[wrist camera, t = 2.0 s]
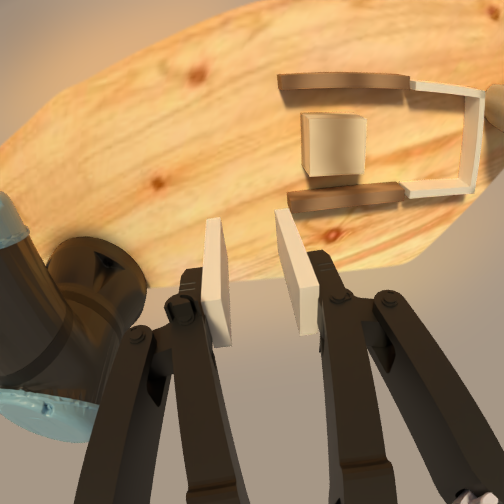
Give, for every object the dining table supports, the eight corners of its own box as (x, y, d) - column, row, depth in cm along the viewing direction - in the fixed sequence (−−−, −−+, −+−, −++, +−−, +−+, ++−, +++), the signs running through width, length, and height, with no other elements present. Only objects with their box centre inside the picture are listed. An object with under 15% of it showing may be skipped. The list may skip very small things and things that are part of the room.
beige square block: (301, 164, 35) (309, 176, 32) (300, 112, 32) (309, 119, 29) (351, 162, 35) (364, 174, 32) (352, 112, 32) (366, 118, 29)
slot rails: (287, 203, 38) (291, 213, 35) (276, 74, 29) (281, 75, 27) (394, 192, 38) (403, 201, 36) (398, 74, 29) (409, 76, 27)
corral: (398, 188, 37) (409, 198, 35) (402, 78, 30) (415, 81, 27) (461, 184, 37) (474, 193, 35) (470, 86, 30) (485, 91, 27)
